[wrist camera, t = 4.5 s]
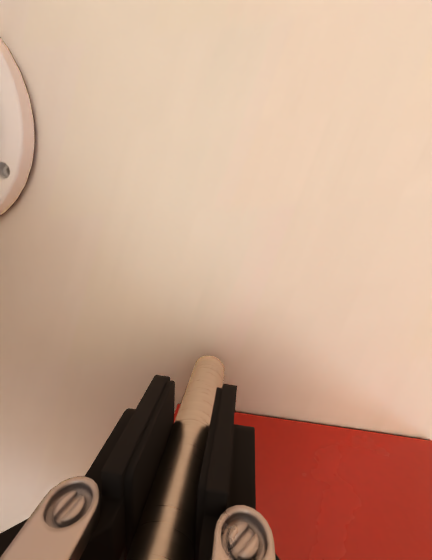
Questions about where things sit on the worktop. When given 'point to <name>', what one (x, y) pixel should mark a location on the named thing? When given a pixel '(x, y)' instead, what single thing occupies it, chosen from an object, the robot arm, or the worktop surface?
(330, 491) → the red cabinet door
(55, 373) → the worktop surface
